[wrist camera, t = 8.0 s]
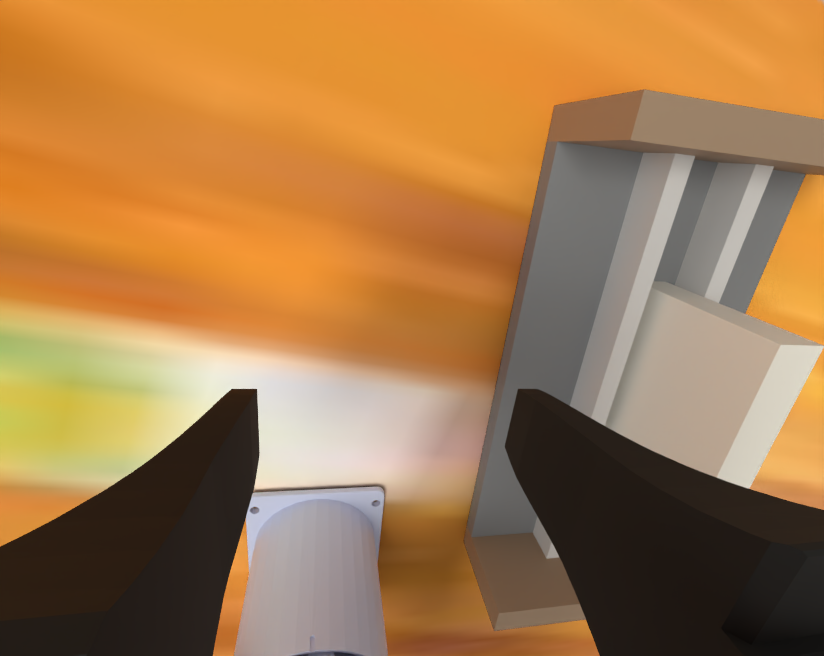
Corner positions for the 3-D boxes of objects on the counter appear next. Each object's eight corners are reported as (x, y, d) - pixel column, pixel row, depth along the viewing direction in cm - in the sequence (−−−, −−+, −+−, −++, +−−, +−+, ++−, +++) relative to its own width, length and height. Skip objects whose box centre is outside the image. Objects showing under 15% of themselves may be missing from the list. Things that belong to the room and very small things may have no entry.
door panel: (603, 460, 27) (703, 574, 20) (576, 462, 27) (667, 578, 20) (666, 282, 23) (824, 346, 15) (633, 279, 22) (780, 344, 15)
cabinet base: (638, 527, 32) (701, 604, 27) (463, 540, 29) (494, 631, 24) (799, 142, 22) (954, 141, 16) (554, 105, 19) (644, 89, 14)
